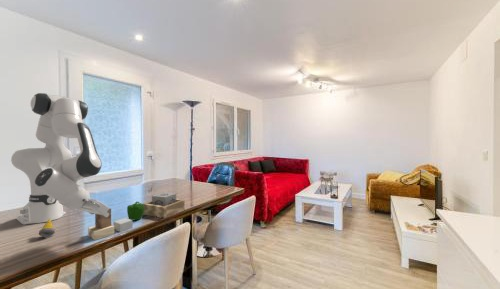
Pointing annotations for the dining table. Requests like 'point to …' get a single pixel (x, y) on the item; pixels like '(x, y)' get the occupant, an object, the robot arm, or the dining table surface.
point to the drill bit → (47, 230)
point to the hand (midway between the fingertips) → (100, 214)
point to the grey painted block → (123, 224)
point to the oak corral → (163, 208)
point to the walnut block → (103, 220)
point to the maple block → (100, 232)
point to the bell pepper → (135, 211)
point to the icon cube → (163, 199)
